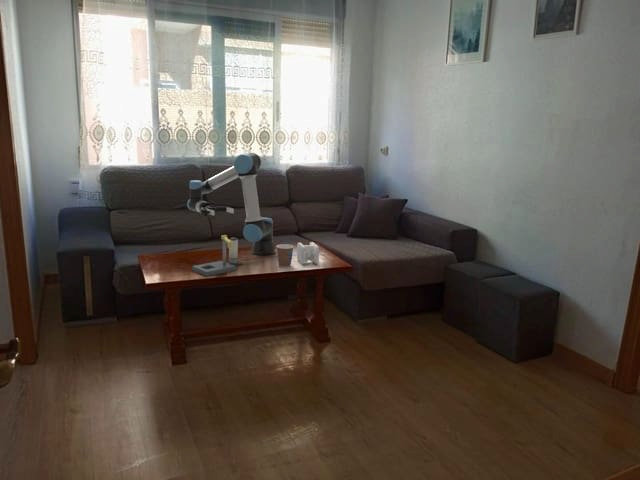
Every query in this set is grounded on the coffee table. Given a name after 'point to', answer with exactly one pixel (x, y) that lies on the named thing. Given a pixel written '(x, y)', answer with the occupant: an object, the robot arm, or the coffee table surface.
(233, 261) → the plug
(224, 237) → the clip
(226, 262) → the pad
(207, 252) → the coffee table surface
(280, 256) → the coffee cup
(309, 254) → the cable organizer
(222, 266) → the socket plate
